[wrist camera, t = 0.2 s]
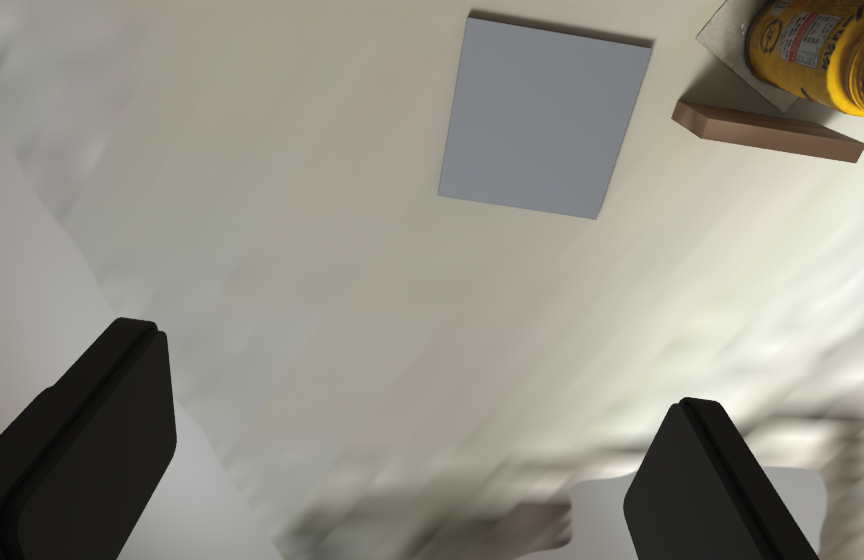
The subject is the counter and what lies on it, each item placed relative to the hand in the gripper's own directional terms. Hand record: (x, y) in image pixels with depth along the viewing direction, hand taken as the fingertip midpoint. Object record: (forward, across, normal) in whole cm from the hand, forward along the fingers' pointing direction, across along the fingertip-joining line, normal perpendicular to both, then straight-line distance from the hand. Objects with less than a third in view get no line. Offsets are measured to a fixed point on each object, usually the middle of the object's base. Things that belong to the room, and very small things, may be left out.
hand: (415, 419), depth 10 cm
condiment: (+31, -21, -8) cm, 38 cm away
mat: (+31, -7, +1) cm, 32 cm away
